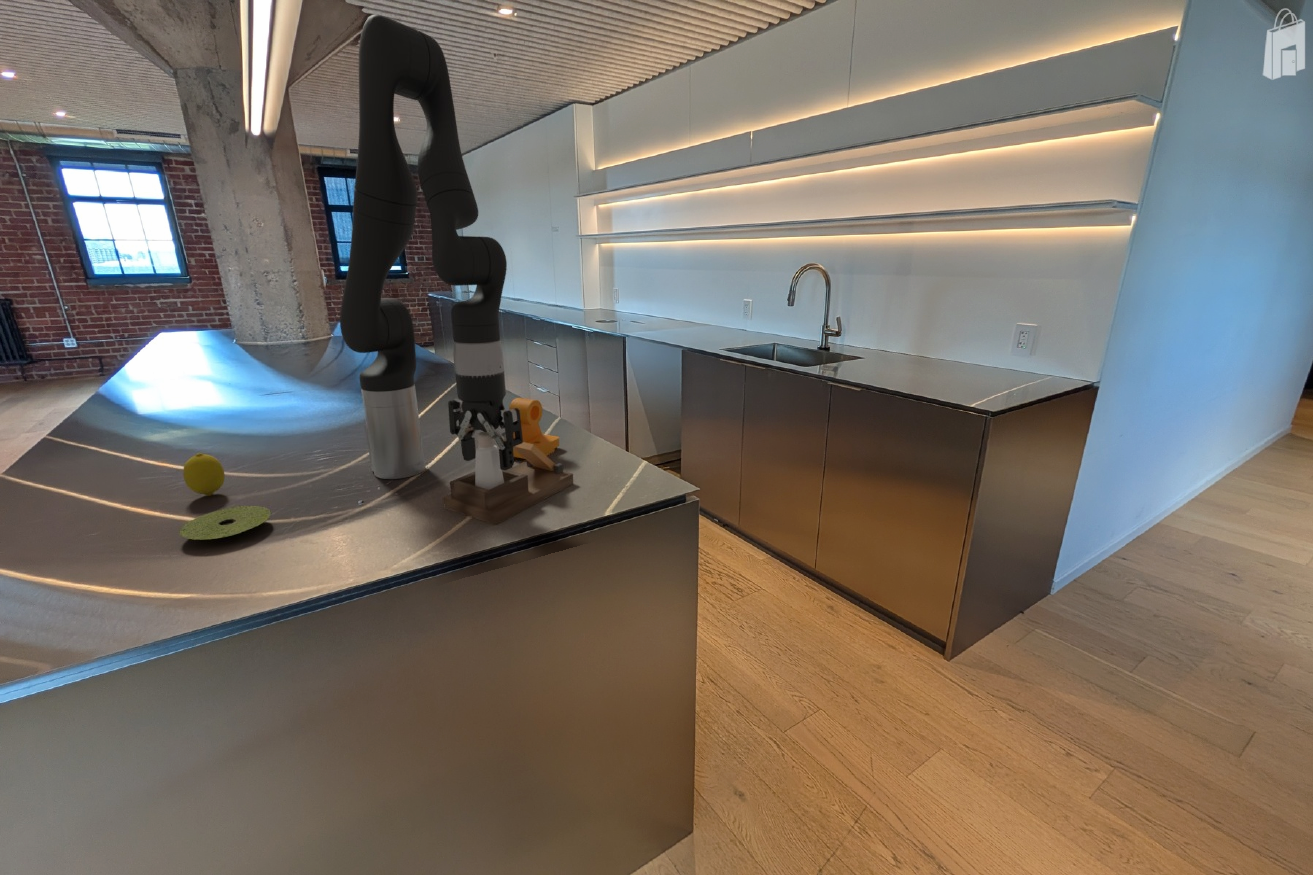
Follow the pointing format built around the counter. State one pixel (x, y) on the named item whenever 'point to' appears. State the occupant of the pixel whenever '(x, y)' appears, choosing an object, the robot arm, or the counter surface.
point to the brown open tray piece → (506, 492)
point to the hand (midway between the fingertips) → (488, 464)
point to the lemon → (203, 474)
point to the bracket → (533, 426)
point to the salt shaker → (487, 463)
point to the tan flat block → (534, 456)
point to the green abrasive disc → (225, 522)
